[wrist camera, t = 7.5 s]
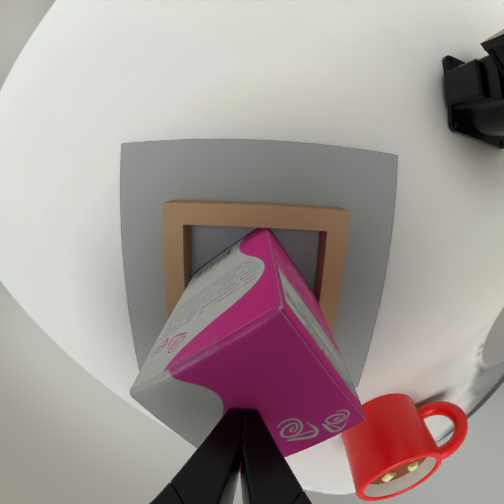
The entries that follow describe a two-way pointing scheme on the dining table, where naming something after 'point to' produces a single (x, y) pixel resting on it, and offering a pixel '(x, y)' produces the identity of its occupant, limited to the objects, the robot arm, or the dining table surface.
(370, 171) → the holder
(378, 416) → the mug
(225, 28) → the dining table surface
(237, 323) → the supplement box
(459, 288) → the dining table surface
